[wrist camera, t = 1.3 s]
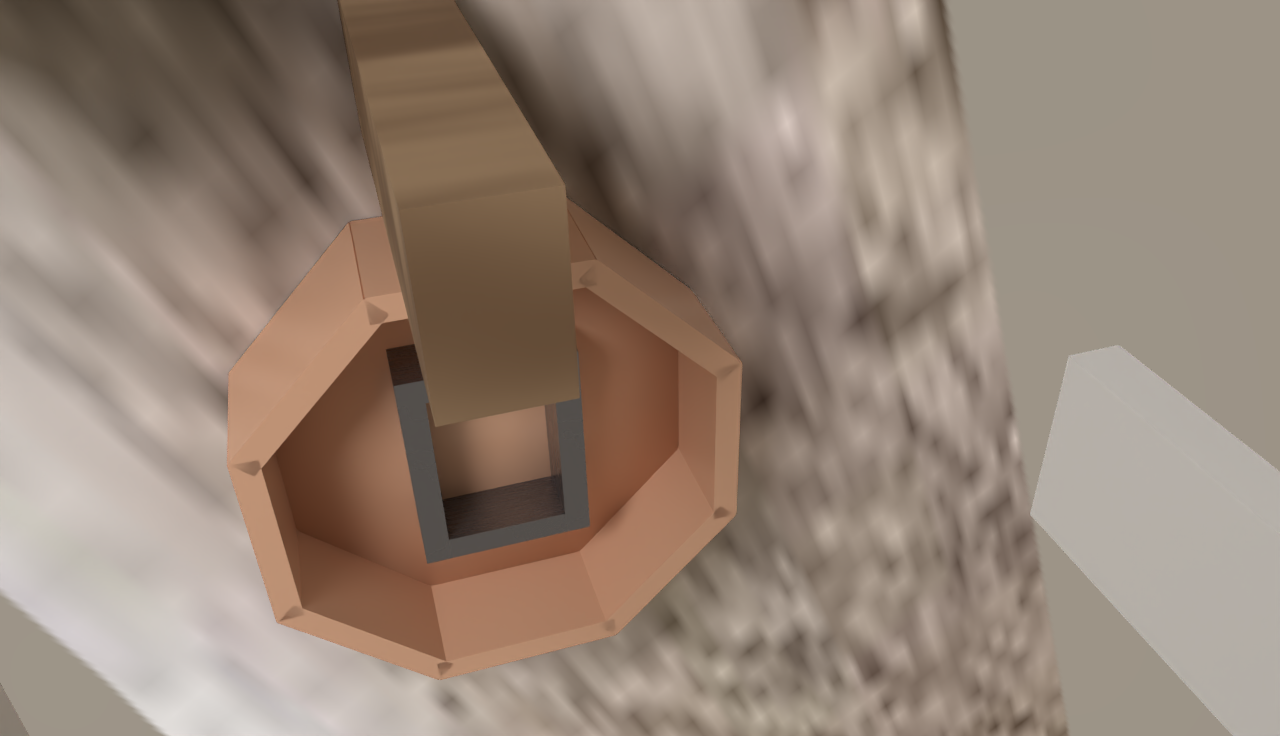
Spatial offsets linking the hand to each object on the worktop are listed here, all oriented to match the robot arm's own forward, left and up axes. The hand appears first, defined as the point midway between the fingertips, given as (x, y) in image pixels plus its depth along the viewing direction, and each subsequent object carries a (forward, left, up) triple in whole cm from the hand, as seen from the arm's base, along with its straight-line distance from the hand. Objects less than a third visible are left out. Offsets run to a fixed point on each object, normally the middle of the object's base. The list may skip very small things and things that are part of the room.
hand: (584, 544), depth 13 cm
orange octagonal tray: (+12, +1, -19) cm, 23 cm away
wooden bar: (0, 0, -19) cm, 19 cm away
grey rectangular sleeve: (+12, +1, -19) cm, 23 cm away
